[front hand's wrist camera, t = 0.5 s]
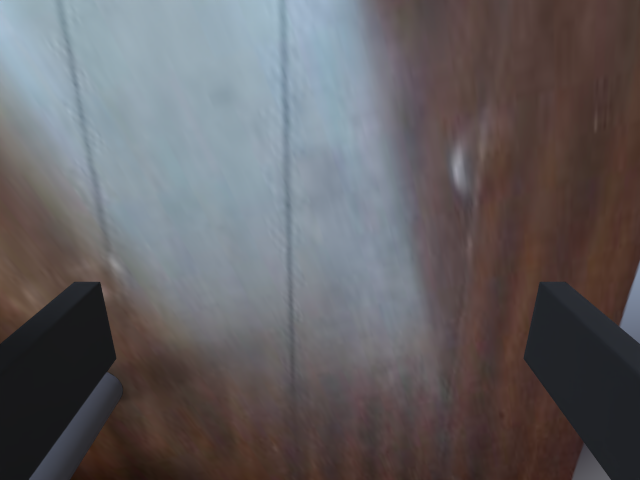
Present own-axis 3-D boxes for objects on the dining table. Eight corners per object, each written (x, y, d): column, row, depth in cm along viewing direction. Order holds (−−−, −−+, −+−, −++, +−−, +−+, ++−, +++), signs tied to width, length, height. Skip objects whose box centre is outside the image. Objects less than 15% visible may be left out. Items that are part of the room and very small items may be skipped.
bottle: (71, 387, 49) (-59, 550, 32) (95, 362, 47) (-28, 519, 31) (107, 411, 50) (0, 579, 33) (131, 387, 49) (32, 550, 32)
